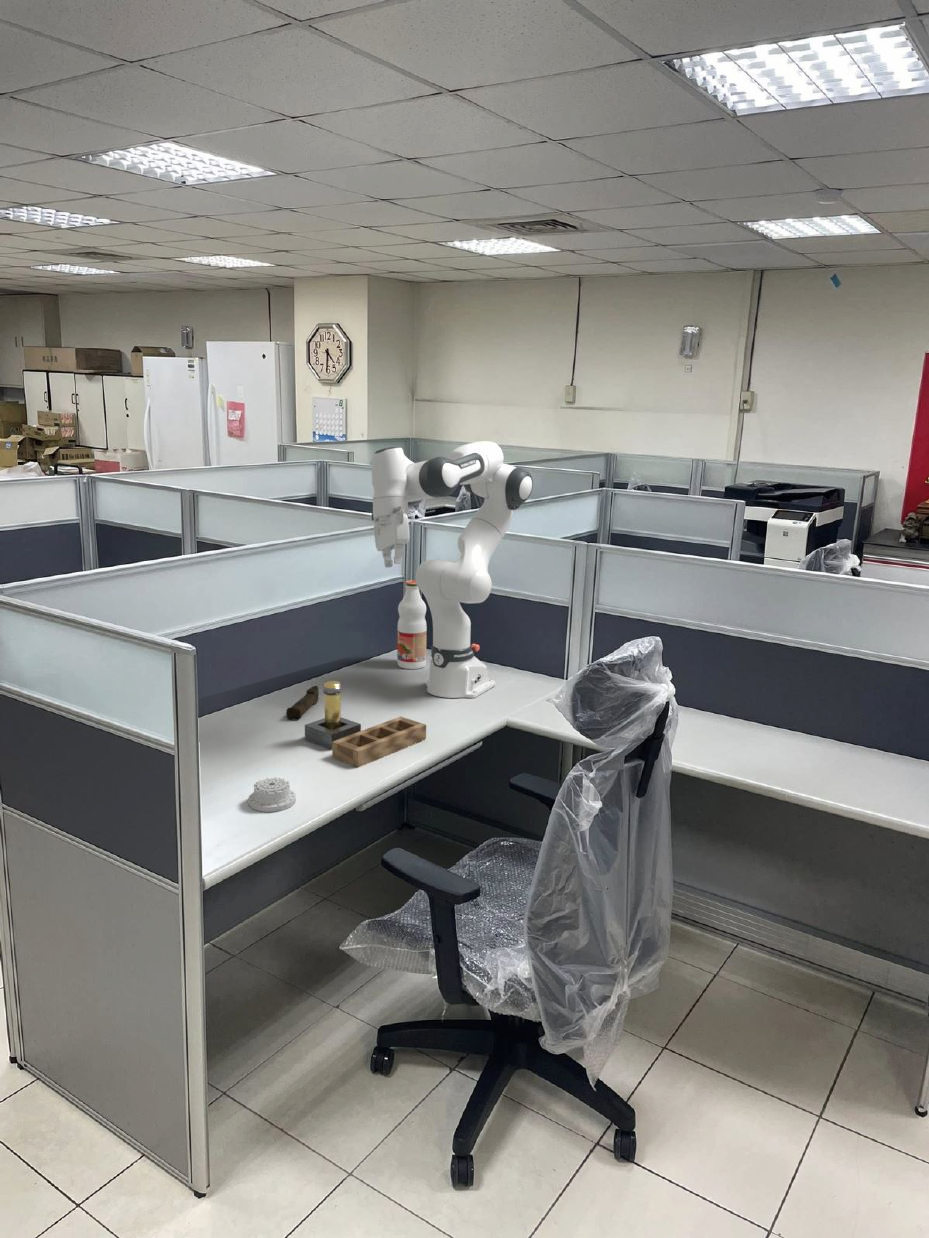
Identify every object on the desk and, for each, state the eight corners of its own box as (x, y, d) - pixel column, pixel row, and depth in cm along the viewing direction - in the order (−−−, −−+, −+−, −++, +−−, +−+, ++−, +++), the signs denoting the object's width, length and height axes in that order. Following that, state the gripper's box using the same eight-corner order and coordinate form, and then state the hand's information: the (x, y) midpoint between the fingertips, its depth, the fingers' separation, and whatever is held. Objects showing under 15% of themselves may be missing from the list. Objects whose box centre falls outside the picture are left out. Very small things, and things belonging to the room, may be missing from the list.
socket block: (334, 729, 233) (334, 714, 232) (360, 738, 227) (360, 724, 226) (305, 739, 226) (304, 724, 225) (331, 749, 220) (331, 734, 219)
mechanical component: (303, 796, 195) (263, 790, 197) (303, 778, 194) (262, 771, 196) (282, 816, 185) (239, 809, 188) (281, 796, 184) (238, 789, 187)
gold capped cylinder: (333, 734, 230) (332, 679, 226) (345, 739, 227) (345, 683, 223) (320, 739, 226) (319, 683, 223) (332, 744, 223) (331, 687, 220)
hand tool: (299, 722, 239) (299, 705, 238) (286, 720, 240) (285, 704, 239) (326, 700, 257) (326, 684, 255) (314, 698, 258) (313, 683, 256)
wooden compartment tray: (400, 730, 233) (400, 716, 232) (426, 739, 228) (426, 724, 227) (332, 757, 215) (332, 741, 214) (358, 767, 210) (358, 751, 209)
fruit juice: (427, 669, 287) (429, 584, 280) (398, 670, 285) (399, 584, 278) (424, 660, 296) (425, 578, 289) (396, 661, 294) (396, 578, 287)
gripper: (414, 504, 216) (417, 561, 215) (392, 516, 235) (395, 568, 235) (389, 504, 213) (391, 561, 213) (369, 516, 233) (371, 569, 232)
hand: (393, 565), depth 224 cm, fingers open, 8 cm apart
